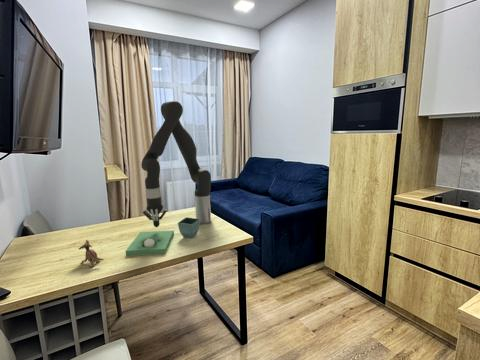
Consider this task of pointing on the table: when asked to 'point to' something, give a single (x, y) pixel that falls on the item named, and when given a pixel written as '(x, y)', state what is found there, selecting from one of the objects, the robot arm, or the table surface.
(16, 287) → the table surface
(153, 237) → the putting mat
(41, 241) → the table surface
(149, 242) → the ball
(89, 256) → the dinosaur figurine
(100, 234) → the table surface
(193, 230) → the flower pot
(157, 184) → the robot arm
